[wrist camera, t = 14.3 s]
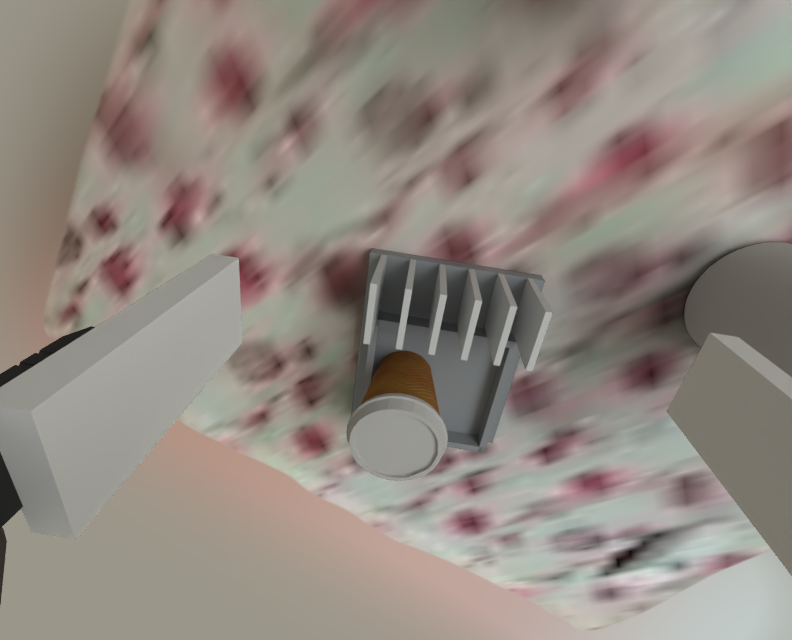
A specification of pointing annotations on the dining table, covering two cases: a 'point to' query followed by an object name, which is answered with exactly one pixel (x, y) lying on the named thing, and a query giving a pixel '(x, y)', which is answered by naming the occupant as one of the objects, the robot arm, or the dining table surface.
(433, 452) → the disposable coffee cup
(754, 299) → the cylinder vase
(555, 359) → the dining table surface
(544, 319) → the dish rack
